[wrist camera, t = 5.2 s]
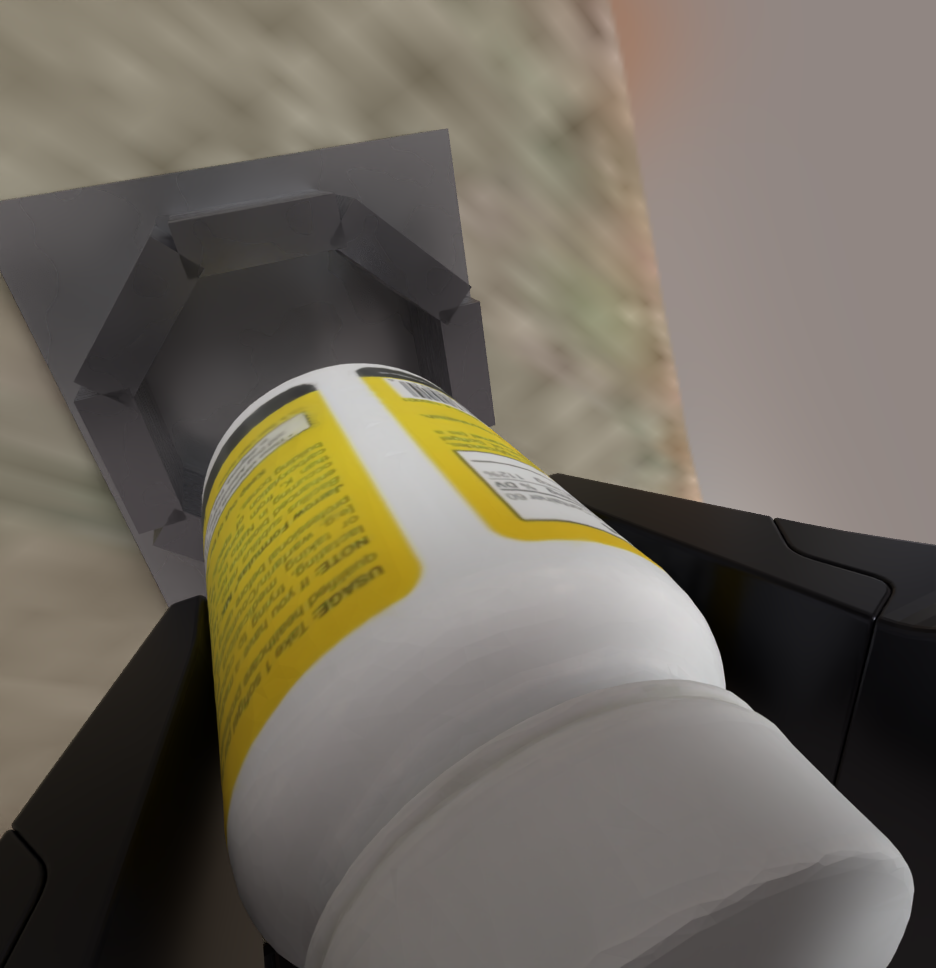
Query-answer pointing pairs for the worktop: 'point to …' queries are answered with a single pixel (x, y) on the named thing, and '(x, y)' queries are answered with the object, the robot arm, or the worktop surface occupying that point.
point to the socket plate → (237, 307)
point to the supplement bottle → (494, 718)
